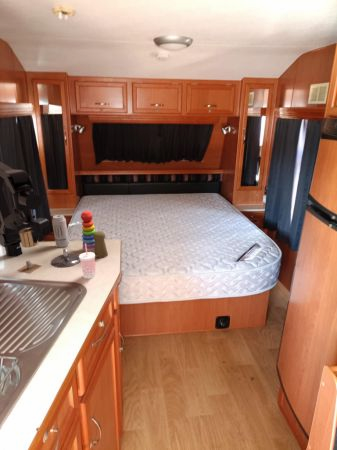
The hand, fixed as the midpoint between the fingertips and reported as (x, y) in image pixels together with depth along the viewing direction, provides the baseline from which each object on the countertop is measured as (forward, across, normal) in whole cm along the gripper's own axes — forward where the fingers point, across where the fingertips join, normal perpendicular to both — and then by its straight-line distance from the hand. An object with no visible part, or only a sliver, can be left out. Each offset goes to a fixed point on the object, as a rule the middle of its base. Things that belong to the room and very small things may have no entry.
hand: (29, 241), depth 131 cm
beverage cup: (+13, +24, +4) cm, 28 cm away
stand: (+13, -1, -1) cm, 13 cm away
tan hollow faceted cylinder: (+1, 0, 0) cm, 1 cm away
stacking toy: (+13, +10, +25) cm, 30 cm away
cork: (+13, +18, +21) cm, 31 cm away
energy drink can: (+13, -5, +22) cm, 26 cm away
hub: (+13, +8, +10) cm, 18 cm away
